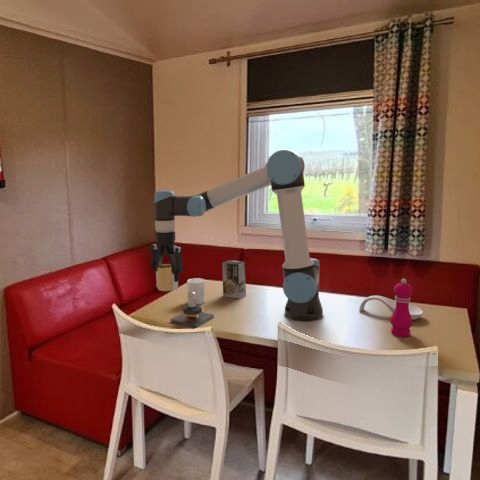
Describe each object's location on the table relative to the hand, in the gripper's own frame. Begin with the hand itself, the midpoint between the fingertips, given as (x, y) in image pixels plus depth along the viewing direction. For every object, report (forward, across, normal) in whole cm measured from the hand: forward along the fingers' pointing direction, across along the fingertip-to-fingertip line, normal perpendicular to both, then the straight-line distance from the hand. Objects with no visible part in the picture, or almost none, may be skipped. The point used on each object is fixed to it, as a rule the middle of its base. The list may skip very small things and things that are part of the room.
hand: (167, 287), depth 159 cm
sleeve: (0, 0, 0) cm, 0 cm away
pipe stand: (+12, -11, -1) cm, 16 cm away
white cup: (+12, 0, -19) cm, 23 cm away
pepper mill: (+11, -84, -25) cm, 89 cm away
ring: (+8, -11, -1) cm, 14 cm away
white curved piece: (+12, -78, -43) cm, 90 cm away
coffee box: (+12, -10, -35) cm, 38 cm away
